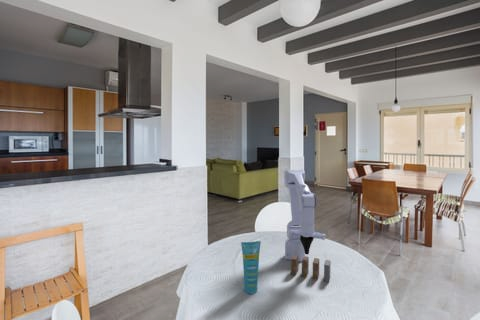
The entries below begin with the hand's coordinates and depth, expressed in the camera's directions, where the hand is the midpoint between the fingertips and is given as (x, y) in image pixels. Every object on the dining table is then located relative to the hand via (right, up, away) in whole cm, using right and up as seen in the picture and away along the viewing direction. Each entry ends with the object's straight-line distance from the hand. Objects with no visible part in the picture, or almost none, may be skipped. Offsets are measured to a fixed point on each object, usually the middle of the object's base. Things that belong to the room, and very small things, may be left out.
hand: (306, 253), depth 108 cm
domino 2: (-1, -9, +1) cm, 9 cm away
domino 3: (+3, -9, -1) cm, 10 cm away
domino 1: (-5, -9, +3) cm, 11 cm away
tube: (-24, -10, -11) cm, 29 cm away
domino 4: (+8, -10, -3) cm, 13 cm away
